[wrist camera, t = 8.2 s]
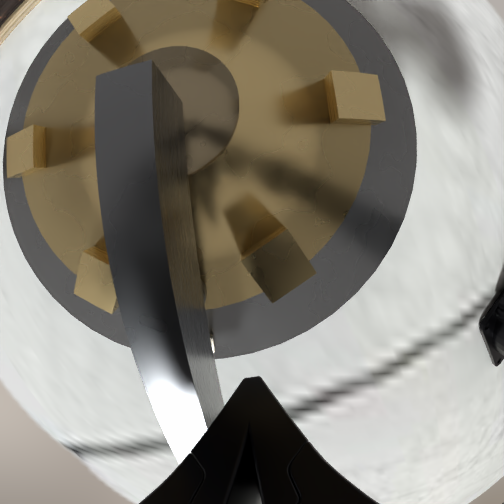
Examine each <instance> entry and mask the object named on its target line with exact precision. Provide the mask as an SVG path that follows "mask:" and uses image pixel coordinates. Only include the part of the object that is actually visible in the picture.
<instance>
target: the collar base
mask: <svg viewBox="0 0 504 504" xmlns="http://www.w3.org/2000/svg"><path fill="white" fill-rule="evenodd" d="M109 1H111V0H109ZM302 1H303V2H304V3H306V4H307V5H309V6H310V7H312V8H313V9H314V10H315V11H316V12H318V13H319V14H320V15H321V16H322V17H323V18H324V19H325V20H326V21H327V22H328V23H329V24H330V25H331V26H332V27H333V28H334V30H335V31H336V32H337V33H338V34H339V36H340V37H341V38H342V39H343V41H344V42H345V44H346V46H347V47H348V49H349V51H350V52H351V54H352V56H353V57H354V59H355V61H356V64H357V66H358V68H359V71H360V73H366V74H374V75H378V79H379V84H380V89H381V95H382V100H383V106H384V112H385V119H386V121H384V122H382V123H379V124H377V125H371V136H370V151H369V155H368V160H367V165H366V170H365V174H364V177H363V180H362V183H361V185H360V188H359V191H358V193H357V196H356V199H355V200H354V202H353V204H352V206H351V208H350V210H349V212H348V213H347V215H346V217H345V219H344V221H343V222H342V224H341V225H340V226H339V228H338V229H337V230H336V232H335V233H334V235H333V236H332V237H331V239H330V240H329V241H328V243H327V244H326V245H325V246H324V247H323V248H322V249H321V250H320V251H319V252H318V253H317V254H316V255H315V256H314V257H313V258H312V259H311V260H310V261H309V262H310V263H311V265H312V266H313V268H314V269H315V271H316V274H315V275H314V276H312V277H311V278H309V279H308V280H306V281H305V282H303V283H302V284H301V285H299V286H298V287H296V288H295V289H293V290H292V291H290V292H289V293H287V294H286V295H284V296H283V297H281V298H280V299H278V300H277V301H275V302H274V303H272V302H271V301H270V300H269V299H268V297H267V296H266V295H265V293H264V292H263V293H260V294H258V295H256V296H253V297H251V298H248V299H246V300H244V301H241V302H238V303H234V304H230V305H227V306H223V307H219V308H214V309H207V310H206V315H207V321H208V327H209V333H210V338H211V344H212V349H213V354H214V359H221V358H228V357H234V356H239V355H245V354H250V353H254V352H257V351H260V350H263V349H266V348H269V347H272V346H275V345H278V344H281V343H283V342H285V341H287V340H289V339H292V338H294V337H296V336H298V335H300V334H302V333H304V332H306V331H308V330H309V329H311V328H312V327H314V326H315V325H317V324H318V323H320V322H321V321H323V320H324V319H326V318H327V317H329V316H330V315H332V314H333V313H334V312H336V311H337V310H338V309H339V308H340V307H341V306H342V305H344V304H345V303H346V302H347V301H348V300H349V299H350V298H351V297H353V296H354V295H355V294H356V293H357V292H358V291H359V289H360V288H361V287H362V286H363V285H364V284H365V282H366V281H367V280H368V279H369V278H370V277H371V275H372V274H373V273H374V272H375V271H376V269H377V268H378V266H379V265H380V263H381V262H382V260H383V258H384V257H385V255H386V254H387V252H388V251H389V249H390V247H391V246H392V244H393V242H394V240H395V237H396V235H397V233H398V231H399V229H400V227H401V224H402V222H403V220H404V217H405V214H406V211H407V207H408V204H409V201H410V197H411V194H412V190H413V184H414V177H415V170H416V161H417V139H416V127H415V120H414V114H413V108H412V104H411V100H410V97H409V93H408V90H407V87H406V84H405V81H404V78H403V76H402V74H401V72H400V70H399V67H398V65H397V63H396V61H395V59H394V57H393V55H392V54H391V52H390V50H389V49H388V47H387V46H386V44H385V43H384V41H383V40H382V38H381V37H380V35H379V34H378V33H377V32H376V30H375V29H374V28H373V27H372V26H371V25H370V23H369V22H368V21H367V20H366V19H365V18H364V17H363V16H362V15H361V14H360V13H359V12H358V11H357V10H356V9H355V8H354V7H353V6H351V5H350V4H349V3H348V2H347V1H345V0H302ZM74 29H75V28H74V26H73V25H72V23H71V22H70V20H69V19H68V18H67V19H66V20H65V21H64V22H63V23H62V24H61V25H60V26H59V27H58V29H57V30H56V31H55V32H54V33H53V35H52V36H51V37H50V38H49V39H48V41H47V42H46V43H45V45H44V46H43V47H42V49H41V50H40V52H39V53H38V55H37V56H36V58H35V59H34V61H33V63H32V64H31V66H30V68H29V69H28V71H27V73H26V75H25V77H24V79H23V82H22V84H21V86H20V88H19V90H18V93H17V96H16V98H15V101H14V104H13V107H12V110H11V113H10V117H9V122H8V126H7V131H6V136H5V145H4V156H3V179H4V191H5V197H6V203H7V209H8V213H9V217H10V220H11V224H12V227H13V230H14V234H15V236H16V238H17V241H18V243H19V245H20V248H21V250H22V252H23V254H24V256H25V258H26V260H27V262H28V263H29V265H30V267H31V268H32V270H33V272H34V273H35V275H36V276H37V278H38V279H39V280H40V282H41V283H42V284H43V286H44V287H45V288H46V289H47V290H48V292H49V293H50V294H51V295H52V297H53V298H54V299H55V300H56V301H57V302H58V303H60V304H61V305H62V306H63V307H64V308H65V309H66V310H67V311H68V312H69V313H70V314H71V315H73V316H74V317H75V318H77V319H78V320H79V321H81V322H82V323H83V324H85V325H86V326H88V327H89V328H91V329H92V330H94V331H96V332H97V333H99V334H101V335H103V336H105V337H107V338H109V339H110V340H112V341H114V342H117V343H119V344H122V345H124V346H127V347H130V343H129V340H128V337H127V334H126V330H125V327H124V323H123V320H122V316H121V312H120V308H119V307H118V308H117V309H116V311H115V312H114V313H113V314H110V313H108V312H106V311H105V310H103V309H101V308H99V307H97V306H95V305H93V304H92V303H90V302H88V301H86V300H84V299H83V298H81V297H79V296H77V295H76V294H74V289H75V283H76V278H77V275H76V274H74V273H73V272H72V271H71V270H70V269H68V268H67V267H66V265H65V264H64V263H63V262H62V261H61V260H60V259H59V258H58V257H57V256H56V254H55V253H54V252H53V251H52V249H51V248H50V246H49V245H48V243H47V242H46V240H45V239H44V237H43V236H42V234H41V232H40V230H39V228H38V226H37V224H36V222H35V220H34V218H33V216H32V213H31V210H30V207H29V204H28V201H27V198H26V194H25V189H24V184H23V179H22V177H20V178H7V138H8V137H10V136H11V135H13V134H15V133H17V132H19V131H21V130H23V126H24V120H25V116H26V112H27V108H28V105H29V102H30V99H31V96H32V93H33V91H34V89H35V86H36V84H37V82H38V79H39V77H40V75H41V74H42V72H43V70H44V68H45V67H46V65H47V63H48V61H49V60H50V58H51V57H52V55H53V54H54V53H55V51H56V50H57V49H58V47H59V46H60V45H61V43H62V42H63V41H64V40H65V39H66V38H67V36H68V35H69V34H70V33H71V32H72V31H73V30H74ZM130 348H131V347H130Z"/></svg>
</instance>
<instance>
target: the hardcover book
mask: <svg viewBox="0 0 504 504" xmlns="http://www.w3.org/2000/svg"><path fill="white" fill-rule="evenodd" d="M40 1H41V0H0V45H1V44H2V43H3V41H4V40H5V39H6V38H7V37H8V35H9V34H10V33H11V32H12V31H13V30H14V28H15V27H16V26H17V25H18V24H19V23H20V22H21V21H22V20H23V18H24V17H25V16H26V15H27V14H28V13H29V12H30V11H31V10H32V9H33V8H34V7H35V6H36V5H37V4H38V3H39V2H40Z"/></svg>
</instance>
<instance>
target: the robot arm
mask: <svg viewBox="0 0 504 504" xmlns="http://www.w3.org/2000/svg"><path fill="white" fill-rule="evenodd" d="M479 329H480V332H481V335H482V337H483V339H484V342H485V344H486V347H487V350H488V352H489V355H490V357H491V360H492V363H493V364H494V365H495V366H498V365H499V364H500V363H501V362H502V360H503V359H504V290H503V292H502V294H501V295H500V297H499V298H498V300H497V301H496V302H495V304H494V305H493V307H492V308H491V310H490V311H489V312H488V314H487V315H486V316H485V318H484V319H483V320H482V322H481V324H480V327H479ZM190 452H191V453H189V454H188V455H187V456H186V457H185V459H184V460H183V461H182V462H181V463H180V465H179V466H178V467H177V468H176V469H175V470H174V471H173V473H172V474H171V475H170V476H169V477H168V478H167V479H166V480H165V481H164V482H163V483H162V484H161V485H160V486H158V487H157V488H156V489H155V490H154V491H153V492H152V493H151V494H149V495H148V496H147V497H146V498H145V499H144V500H143V501H141V502H140V503H139V504H379V503H378V502H376V501H375V500H373V499H372V498H370V497H369V496H368V495H366V494H365V493H364V492H362V491H361V490H360V489H358V488H357V487H356V486H355V485H353V484H352V483H351V482H350V481H348V480H347V479H346V478H345V477H343V476H342V475H341V474H340V473H339V472H337V471H336V470H335V469H334V468H333V467H332V466H331V465H330V464H329V463H328V462H327V461H326V460H325V459H324V458H323V457H322V456H321V455H320V454H319V453H318V451H317V450H316V449H315V448H314V447H313V445H312V444H311V443H310V442H308V439H307V438H306V437H305V436H304V434H303V433H302V432H301V430H300V429H299V428H298V427H297V425H296V424H295V423H294V421H293V420H292V419H291V417H290V416H289V415H288V413H287V412H286V411H285V409H284V408H283V407H282V405H281V404H280V403H279V401H278V400H277V399H276V397H275V396H274V395H273V393H272V392H271V390H270V389H269V388H268V386H267V385H266V383H265V382H264V381H263V379H262V378H261V377H260V376H257V377H250V378H244V379H243V380H242V382H241V383H240V385H239V386H238V388H237V389H236V390H235V392H234V393H233V395H232V396H231V398H230V399H229V400H228V402H227V403H226V405H225V406H224V407H223V409H222V410H221V411H220V413H219V414H218V416H217V417H216V418H215V420H214V421H213V422H212V424H211V425H210V426H209V428H208V429H207V430H206V432H205V433H204V434H203V436H202V437H201V438H200V440H199V441H198V442H197V443H196V445H195V446H194V447H193V449H192V450H191V451H190ZM502 504H504V503H502Z"/></svg>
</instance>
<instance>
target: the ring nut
mask: <svg viewBox="0 0 504 504" xmlns="http://www.w3.org/2000/svg"><path fill="white" fill-rule="evenodd" d="M68 19H69V20H70V22H71V23H72V25H73V26H74V28H75V29H74V30H73V31H72V32H71V33H70V34H69V35H68V36H67V38H66V39H65V40H64V41H63V42H62V43H61V45H60V46H59V47H58V49H57V50H56V51H55V53H54V54H53V55H52V57H51V58H50V60H49V61H48V63H47V65H46V67H45V68H44V70H43V72H42V74H41V75H40V77H39V79H38V82H37V84H36V86H35V89H34V91H33V93H32V96H31V99H30V102H29V105H28V108H27V112H26V116H25V120H24V126H23V130H21V131H19V132H17V133H15V134H13V135H11V136H10V137H8V138H7V178H20V177H22V179H23V184H24V189H25V194H26V198H27V201H28V204H29V207H30V210H31V213H32V216H33V218H34V220H35V222H36V224H37V226H38V228H39V230H40V232H41V234H42V236H43V237H44V239H45V240H46V242H47V243H48V245H49V246H50V248H51V249H52V251H53V252H54V253H55V254H56V256H57V257H58V258H59V259H60V260H61V261H62V262H63V263H64V264H65V265H66V267H67V268H68V269H70V270H71V271H72V272H73V273H74V274H76V275H77V278H76V283H75V289H74V294H76V295H77V296H79V297H81V298H83V299H84V300H86V301H88V302H90V303H92V304H93V305H95V306H97V307H99V308H101V309H103V310H105V311H106V312H108V313H110V314H113V313H114V312H115V311H116V309H117V308H118V307H119V308H120V312H121V316H122V320H123V323H124V327H125V330H126V334H127V337H128V340H129V343H130V347H131V350H132V353H133V356H134V359H135V362H136V365H137V368H138V371H139V373H140V376H141V379H142V382H143V384H144V387H145V390H146V392H147V395H148V397H149V400H150V402H151V405H152V407H153V410H154V412H155V414H156V417H157V419H158V421H159V424H160V426H161V428H162V430H163V432H164V435H165V437H166V439H167V441H168V443H169V445H170V447H171V449H172V451H173V453H174V455H175V457H176V459H177V461H178V463H179V465H180V463H181V462H182V461H183V460H184V459H185V457H186V456H187V455H188V454H189V453H191V452H190V451H191V450H192V449H193V447H194V446H195V445H196V443H197V442H198V441H199V440H200V438H201V437H202V436H203V434H204V433H205V432H206V430H207V429H208V428H209V426H210V425H211V424H212V422H213V421H214V420H215V418H216V417H217V416H218V414H219V413H220V411H221V410H222V409H223V407H224V403H223V398H222V394H221V389H220V384H219V379H218V375H217V370H216V365H215V359H214V354H213V349H212V344H211V338H210V333H209V327H208V321H207V315H206V310H207V309H214V308H219V307H223V306H227V305H230V304H234V303H238V302H241V301H244V300H246V299H248V298H251V297H253V296H256V295H258V294H260V293H263V292H264V293H265V295H266V296H267V297H268V299H269V300H270V301H271V302H272V303H274V302H275V301H277V300H278V299H280V298H281V297H283V296H284V295H286V294H287V293H289V292H290V291H292V290H293V289H295V288H296V287H298V286H299V285H301V284H302V283H303V282H305V281H306V280H308V279H309V278H311V277H312V276H314V275H315V274H316V271H315V269H314V268H313V266H312V265H311V263H310V262H309V261H310V260H311V259H312V258H313V257H314V256H315V255H316V254H317V253H318V252H319V251H320V250H321V249H322V248H323V247H324V246H325V245H326V244H327V243H328V241H329V240H330V239H331V237H332V236H333V235H334V233H335V232H336V230H337V229H338V228H339V226H340V225H341V224H342V222H343V221H344V219H345V217H346V215H347V213H348V212H349V210H350V208H351V206H352V204H353V202H354V200H355V199H356V196H357V193H358V191H359V188H360V185H361V183H362V180H363V177H364V174H365V170H366V165H367V160H368V155H369V151H370V136H371V125H377V124H379V123H382V122H384V121H386V119H385V112H384V106H383V100H382V95H381V89H380V84H379V79H378V75H374V74H366V73H360V71H359V68H358V66H357V64H356V61H355V59H354V57H353V56H352V54H351V52H350V51H349V49H348V47H347V46H346V44H345V42H344V41H343V39H342V38H341V37H340V36H339V34H338V33H337V32H336V31H335V30H334V28H333V27H332V26H331V25H330V24H329V23H328V22H327V21H326V20H325V19H324V18H323V17H322V16H321V15H320V14H319V13H318V12H316V11H315V10H314V9H313V8H312V7H310V6H309V5H307V4H306V3H304V2H303V1H302V0H111V1H109V0H88V1H86V2H85V3H84V4H82V5H81V6H80V7H79V8H77V9H76V10H75V11H74V12H72V13H71V14H70V15H69V16H68Z"/></svg>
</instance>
